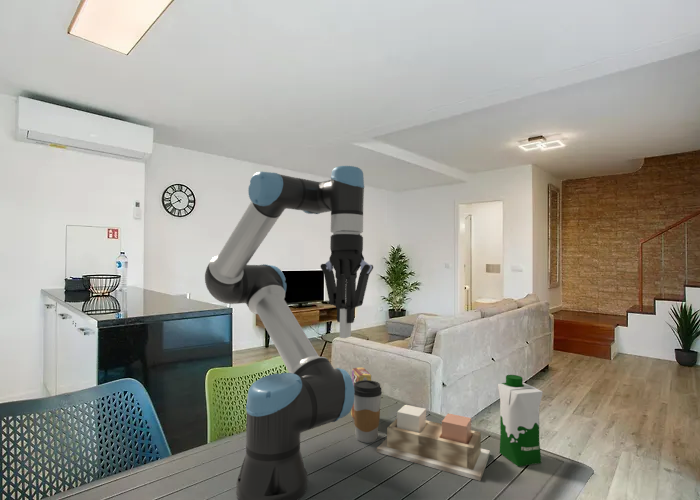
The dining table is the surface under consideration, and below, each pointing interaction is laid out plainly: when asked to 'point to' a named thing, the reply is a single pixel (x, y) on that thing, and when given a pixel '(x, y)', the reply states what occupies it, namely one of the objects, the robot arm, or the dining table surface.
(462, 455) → the housing
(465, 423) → the salmon pink block
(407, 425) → the white block
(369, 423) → the coffee cup
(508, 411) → the milk carton
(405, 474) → the dining table surface
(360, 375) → the candy box
